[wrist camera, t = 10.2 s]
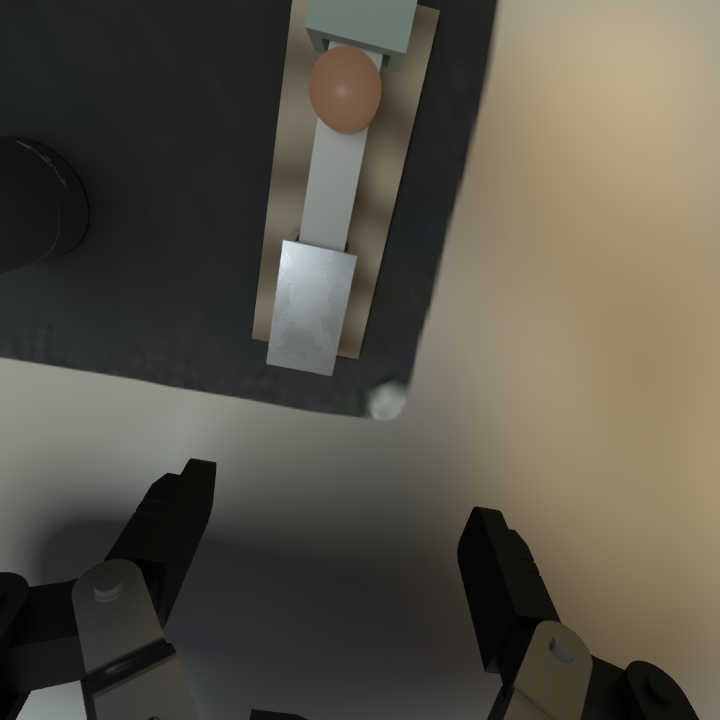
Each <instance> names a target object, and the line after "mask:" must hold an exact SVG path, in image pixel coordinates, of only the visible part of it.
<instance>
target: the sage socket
mask: <svg viewBox="0 0 720 720" xmlns="http://www.w3.org/2000/svg"><path fill="white" fill-rule="evenodd" d="M416 5H417V0H309V3H308V10H307V18H306V25H305V28H306V30H307V33H308V35H309V37H310V40H311V42H312V45H313V47H314V50H315V51H316V52H320V53H325V52H326V51H328V48H329V41H330V40H332V41H336V42H340V43H344V44H347V45H351V46H355V47H359V48H363V49H367V50H370V51H374V52H378V53H382V54H383V57H382V62H381V67H380V68H382V69H386V70H390V71H394V72H398V70H399V68H400V65H401V63H402V61H403V59H404V57H405V55H406V51H407V47H408V42H409V37H410V33H411V28H412V23H413V19H414V14H415V10H416Z"/></svg>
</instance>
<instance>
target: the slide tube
mask: <svg viewBox="0 0 720 720" xmlns="http://www.w3.org/2000/svg"><path fill="white" fill-rule="evenodd" d="M382 57H383V54H382V53H378V52H374V51H370V50H367V49H363V48H359V47H355V46H351V45H347V44H344V43H340V42H336V41H332V40H330V41H329V48H328V51H326V52H325V53H323V54H322V55H321V56H320V57H319V58H318V60H317V61H316V63H315V64H314V66H313V68H312V71H311V74H310V78H309V97H310V101H311V104H312V107H313V109H314V111H315V113H316V114H317V116H318V120H317V126H316V133H315V139H314V146H313V152H312V159H311V165H310V172H309V178H308V185H307V191H306V198H305V204H304V211H303V217H302V224H301V230H300V237H299V242H303V243H308V244H313V245H317V246H322V247H326V248H331V249H336V250H340V251H344V249H345V244H346V239H347V233H348V228H349V223H350V218H351V213H352V208H353V203H354V198H355V193H356V188H357V183H358V178H359V173H360V168H361V163H362V158H363V153H364V148H365V143H366V137H367V132H368V127H369V124H370V123H371V121H372V120H373V118H374V116H375V113H376V111H377V108H378V106H379V103H380V99H381V88H382V87H381V79H380V75H379V72H380V67H381V62H382Z"/></svg>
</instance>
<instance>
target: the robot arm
mask: <svg viewBox="0 0 720 720" xmlns="http://www.w3.org/2000/svg"><path fill="white" fill-rule="evenodd" d="M87 224H88V205H87V200H86V196H85V193H84V191H83V188H82V186H81V183H80V182H79V180H78V179H77V177H76V175H75V174H74V172H73V171H72V170H71V168H70V167H69V166H68V165H67V164H66V163H65V162H64V160H62V159H61V158H60V157H59V156H58V155H56V154H55V153H54V152H53V151H52V150H50V149H48V148H46V147H45V146H43V145H41V144H39V143H37V142H34V141H31V140H28V139H24V138H17V137H6V136H0V274H2V273H5V272H8V271H11V270H14V269H17V268H20V267H23V266H26V265H30V264H33V263H36V262H39V261H42V260H45V259H48V258H51V257H54V256H57V255H60V254H63V253H66V252H67V251H69V250H71V249H72V248H74V247H75V246H76V245H77V244H78V243H79V242H80V241H81V239H82V237H83V235H84V233H85V231H86V228H87ZM215 477H216V462H211V461H205V460H199V459H193V458H191V459H190V460H189V461H188V462H187V464H186V466H185V468H184V470H183V471H182V473H181V475H177V474H171V473H167V474H165V475H164V476H162V477H161V478H160V479H158V480H157V481H156V482H154V483H153V484H152V485H151V487H150V488H149V490H148V492H147V493H146V495H145V497H144V499H143V501H141V503H140V504H139V506H138V508H137V509H136V512H135V513H134V514H133V516H132V517H131V519H130V520H129V522H128V524H127V525H126V527H125V528H124V530H123V532H122V533H121V535H120V536H119V538H118V539H117V541H116V543H115V544H114V546H113V548H112V549H111V551H110V552H109V554H108V555H107V557H106V558H105V560H104V561H103V562H100V563H98V564H96V565H94V566H92V567H90V568H89V569H88V570H86V571H85V572H84V573H83V574H82V575H81V576H80V577H79V578H77V579H74V580H71V581H67V582H61V583H55V584H47V585H41V586H33V587H29V586H28V583H27V581H26V580H25V578H24V577H22V576H20V575H18V574H16V573H10V572H0V720H16V718H17V716H18V714H19V713H20V711H21V709H22V707H23V705H24V703H25V701H26V700H27V698H28V696H29V694H30V692H31V691H33V690H37V689H42V688H46V687H51V686H55V685H60V684H65V683H69V682H74V681H78V680H80V682H81V688H82V694H83V700H84V705H85V711H86V716H87V720H200V719H199V716H198V713H197V710H196V707H195V704H194V701H193V698H192V696H191V693H190V690H189V687H188V684H187V681H186V679H185V676H184V673H183V670H182V667H181V664H180V662H179V659H178V656H177V653H176V651H175V649H174V647H173V645H172V644H171V643H169V644H167V643H166V641H165V639H164V636H163V633H162V630H161V628H165V625H166V622H167V620H168V618H169V615H170V613H171V611H172V608H173V606H174V603H175V601H176V598H177V596H178V594H179V591H180V589H181V586H182V584H183V582H184V579H185V577H186V574H187V572H188V569H189V567H190V564H191V562H192V560H193V557H194V555H195V552H196V550H197V547H198V545H199V543H200V540H201V538H202V535H203V533H204V530H205V528H206V526H207V523H208V520H209V517H210V514H211V510H212V505H213V498H214V488H215ZM457 557H458V564H459V568H460V572H461V576H462V581H463V584H464V589H465V592H466V597H467V600H468V605H469V609H470V613H471V617H472V621H473V625H474V630H475V633H476V637H477V642H478V646H479V650H480V654H481V658H482V662H483V666H484V670H485V672H489V673H497V674H500V675H501V679H502V683H503V685H502V687H501V688H500V690H499V692H498V694H497V697H496V699H495V701H494V704H493V706H492V708H491V711H490V713H489V716H488V718H487V720H699V718H698V717H697V716H696V713H695V711H694V709H693V708H692V706H691V704H690V702H689V701H688V699H687V697H686V695H685V694H684V692H683V691H682V689H681V688H680V687H679V686H678V684H677V683H676V682H675V681H674V680H673V679H672V678H671V677H670V676H669V675H668V674H666V673H665V672H664V671H663V670H661V669H660V668H658V667H656V666H655V665H653V664H650V663H648V662H644V661H634V662H631V663H630V664H629V665H628V667H627V668H626V669H625V670H623V669H621V668H619V667H617V666H614V665H612V664H610V663H607V662H605V661H603V660H601V659H599V658H597V657H595V656H593V655H591V654H590V652H589V650H588V648H587V646H586V645H585V643H584V642H583V641H582V639H581V638H580V637H579V636H578V635H577V634H576V633H575V632H574V631H572V630H571V629H570V628H568V627H567V626H565V625H563V624H562V623H561V621H560V619H559V617H558V614H557V612H556V610H555V607H554V605H553V603H552V601H551V598H550V596H549V594H548V592H547V589H546V587H545V584H544V582H543V580H542V578H541V576H539V571H538V568H537V566H536V564H535V563H534V559H533V557H532V555H531V552H530V550H529V548H528V545H527V544H526V543H525V541H524V540H523V539H522V538H521V537H520V536H519V534H518V533H517V532H516V531H515V530H510V529H508V527H507V524H506V522H505V520H504V517H503V515H502V513H501V511H499V510H494V509H488V508H482V507H474V508H473V510H472V512H471V514H470V517H469V519H468V521H467V524H466V526H465V529H464V531H463V533H462V536H461V538H460V541H459V544H458V550H457ZM250 720H308V719H305V718H303V717H301V716H299V715H296V714H288V713H279V712H270V711H262V710H253V709H252V711H251V715H250Z"/></svg>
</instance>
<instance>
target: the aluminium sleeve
mask: <svg viewBox="0 0 720 720" xmlns="http://www.w3.org/2000/svg"><path fill="white" fill-rule="evenodd" d="M299 237H300V230H297V229H293V230H292V231H291V232H290V233H289V234H288V236H287V237H286V238H285V239H284V240H283V246H282V253H281V261H280V268H279V275H278V282H277V289H276V297H275V304H274V311H273V318H272V325H271V333H270V340H269V347H268V354H267V362H266V364H270V365H276V366H281V367H286V368H292V369H297V370H302V371H307V372H313V373H318V374H323V375H329V376H332V373H333V368H334V364H335V359H336V354H337V349H338V345H339V340H340V335H341V331H342V326H343V321H344V316H345V312H346V307H347V302H348V297H349V293H350V288H351V283H352V278H353V274H354V269H355V264H356V260H357V243H356V242H351V241H347V240H346V244H345V249H344V251H340V250H336V249H331V248H326V247H322V246H317V245H313V244H308V243H303V242H299Z"/></svg>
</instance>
